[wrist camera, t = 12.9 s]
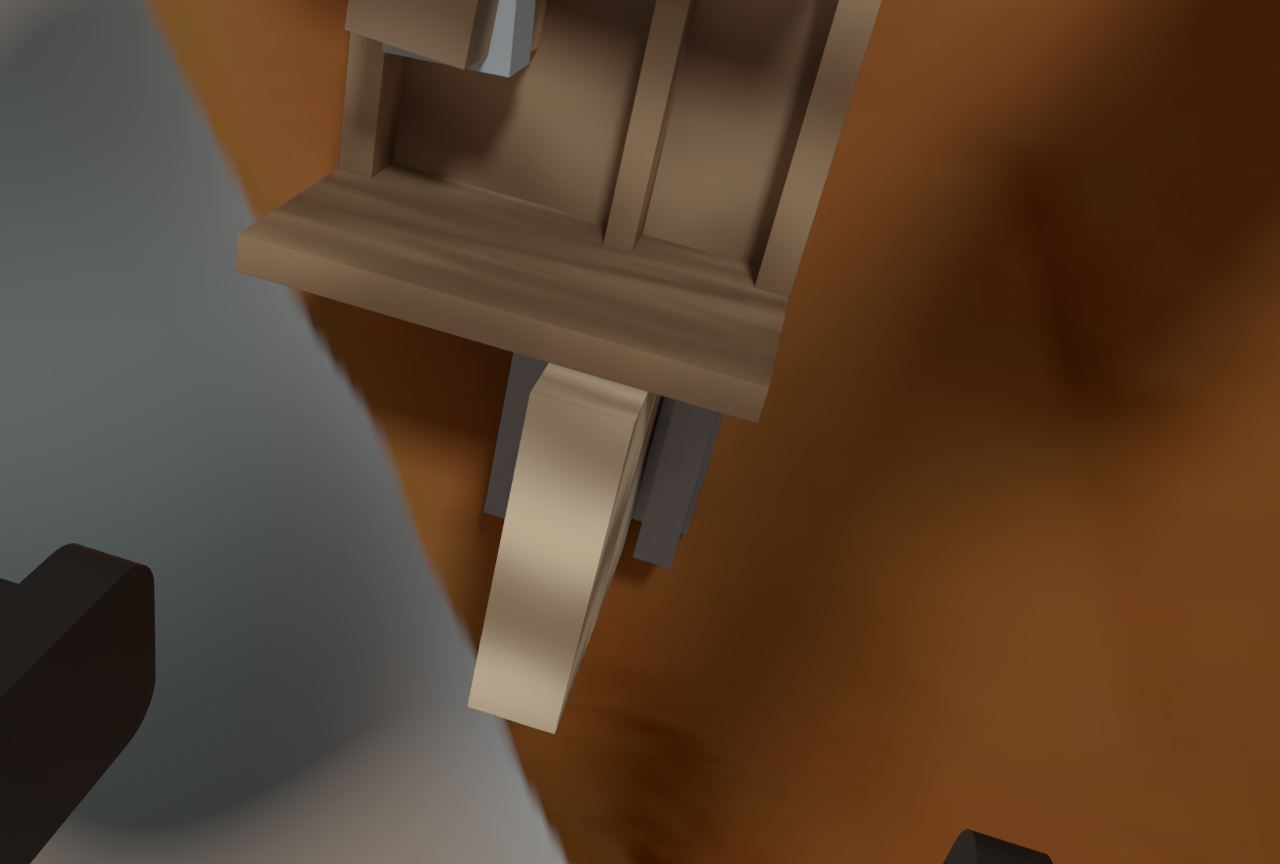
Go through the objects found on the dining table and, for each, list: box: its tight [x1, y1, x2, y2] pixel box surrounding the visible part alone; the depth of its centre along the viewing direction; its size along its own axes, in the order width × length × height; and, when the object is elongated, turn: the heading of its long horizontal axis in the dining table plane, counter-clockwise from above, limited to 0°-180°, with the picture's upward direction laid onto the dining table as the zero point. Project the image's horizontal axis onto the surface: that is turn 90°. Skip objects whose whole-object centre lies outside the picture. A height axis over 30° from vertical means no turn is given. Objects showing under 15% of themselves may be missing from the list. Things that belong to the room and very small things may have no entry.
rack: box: [236, 0, 882, 424], centre depth 34 cm, size 17×16×10 cm
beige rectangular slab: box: [467, 363, 664, 734], centre depth 40 cm, size 12×3×11 cm, turn 167°
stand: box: [484, 352, 723, 569], centre depth 44 cm, size 9×8×4 cm
